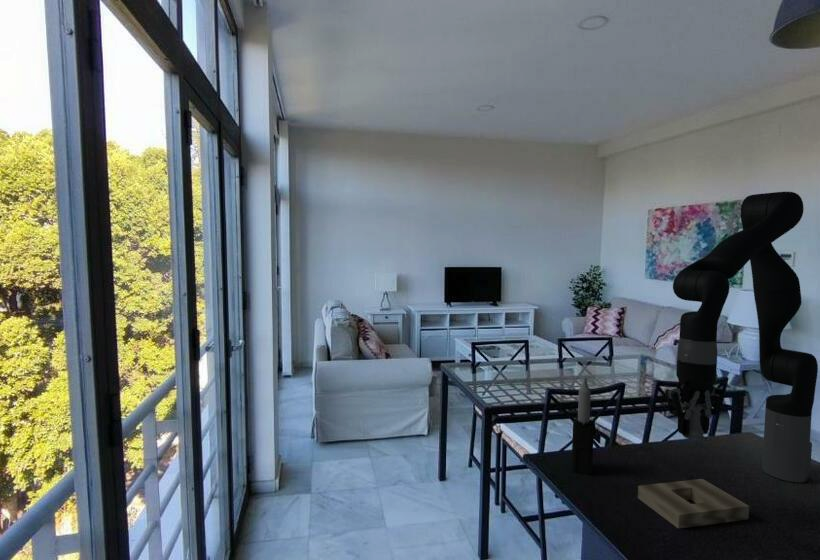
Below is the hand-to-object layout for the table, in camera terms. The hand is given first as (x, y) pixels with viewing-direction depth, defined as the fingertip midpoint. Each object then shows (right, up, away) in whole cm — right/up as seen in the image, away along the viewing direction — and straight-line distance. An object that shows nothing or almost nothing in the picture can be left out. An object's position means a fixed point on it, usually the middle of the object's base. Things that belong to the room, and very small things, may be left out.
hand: (692, 433), depth 100 cm
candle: (-18, -16, +18) cm, 30 cm away
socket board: (0, -17, 0) cm, 17 cm away
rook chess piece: (0, -1, 0) cm, 1 cm away
